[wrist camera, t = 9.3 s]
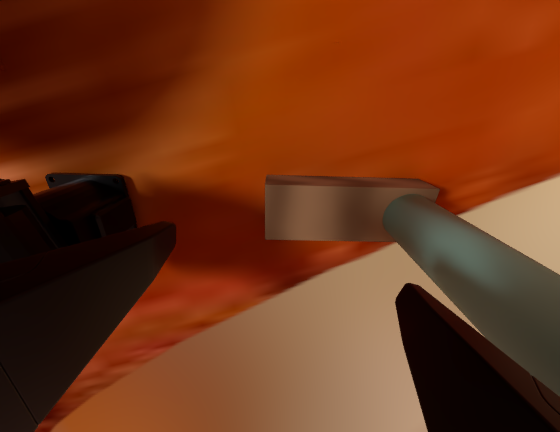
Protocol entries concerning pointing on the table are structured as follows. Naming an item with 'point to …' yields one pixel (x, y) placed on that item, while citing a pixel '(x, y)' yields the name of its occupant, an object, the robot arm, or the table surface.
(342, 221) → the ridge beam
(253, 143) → the table surface
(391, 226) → the rod
